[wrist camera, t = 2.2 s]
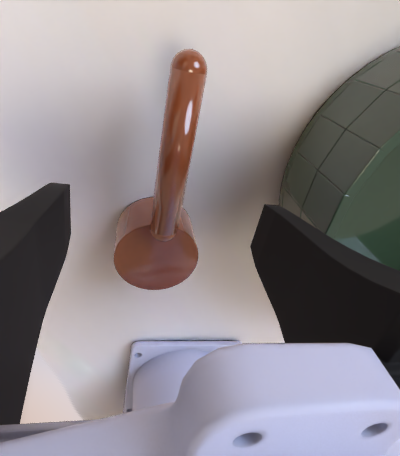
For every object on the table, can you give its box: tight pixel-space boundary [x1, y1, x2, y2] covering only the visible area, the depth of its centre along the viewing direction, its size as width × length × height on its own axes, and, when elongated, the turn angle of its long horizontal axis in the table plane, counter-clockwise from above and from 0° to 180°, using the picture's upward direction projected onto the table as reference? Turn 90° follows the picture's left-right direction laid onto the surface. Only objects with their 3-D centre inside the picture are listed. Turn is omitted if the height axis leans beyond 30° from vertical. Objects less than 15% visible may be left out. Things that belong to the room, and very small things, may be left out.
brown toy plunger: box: [114, 49, 207, 290], centre depth 14 cm, size 11×4×4 cm, turn 169°
